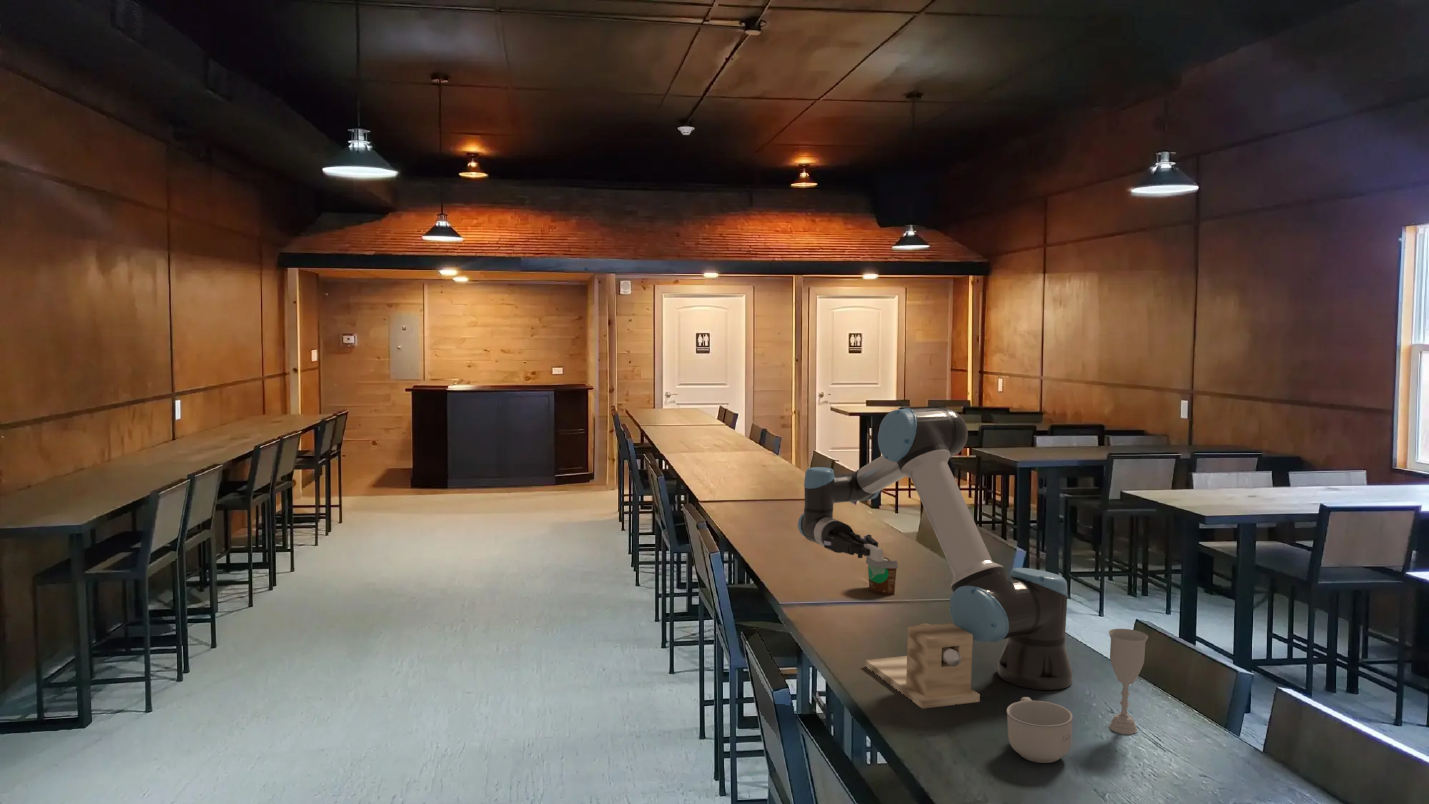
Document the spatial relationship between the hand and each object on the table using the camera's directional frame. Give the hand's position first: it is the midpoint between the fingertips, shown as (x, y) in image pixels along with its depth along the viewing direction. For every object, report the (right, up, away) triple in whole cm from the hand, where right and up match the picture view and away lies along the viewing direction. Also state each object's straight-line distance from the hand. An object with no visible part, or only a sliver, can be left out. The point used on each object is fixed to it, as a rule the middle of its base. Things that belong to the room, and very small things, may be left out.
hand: (879, 555), depth 212 cm
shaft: (+8, -19, -23) cm, 30 cm away
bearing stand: (+5, -24, -15) cm, 29 cm away
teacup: (+19, -27, -47) cm, 58 cm away
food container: (+9, -19, +55) cm, 59 cm away
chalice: (+39, -27, -37) cm, 60 cm away
